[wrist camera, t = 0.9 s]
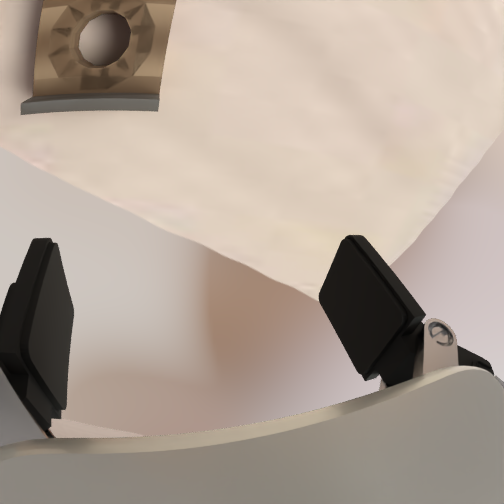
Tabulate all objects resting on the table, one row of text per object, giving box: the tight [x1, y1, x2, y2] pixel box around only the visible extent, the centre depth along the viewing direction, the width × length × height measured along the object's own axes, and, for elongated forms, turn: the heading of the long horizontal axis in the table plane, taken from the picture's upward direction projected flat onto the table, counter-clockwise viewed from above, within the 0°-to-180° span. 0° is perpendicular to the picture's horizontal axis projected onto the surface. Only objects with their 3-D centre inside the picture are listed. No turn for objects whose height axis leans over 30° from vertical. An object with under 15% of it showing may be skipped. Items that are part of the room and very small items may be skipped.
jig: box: [21, 0, 176, 115], centre depth 20 cm, size 12×12×6 cm
